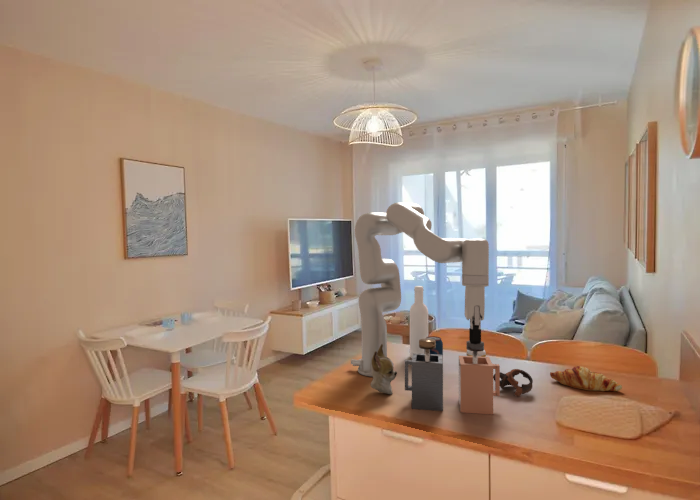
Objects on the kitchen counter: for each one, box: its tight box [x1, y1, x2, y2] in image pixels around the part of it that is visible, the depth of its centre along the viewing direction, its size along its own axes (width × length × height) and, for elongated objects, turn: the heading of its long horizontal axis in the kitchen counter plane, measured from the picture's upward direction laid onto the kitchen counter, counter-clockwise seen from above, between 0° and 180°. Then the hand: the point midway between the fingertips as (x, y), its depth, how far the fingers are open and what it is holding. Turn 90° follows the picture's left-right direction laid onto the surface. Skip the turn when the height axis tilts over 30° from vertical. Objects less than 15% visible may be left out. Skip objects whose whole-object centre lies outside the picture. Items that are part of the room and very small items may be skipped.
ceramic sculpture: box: [370, 344, 398, 395], centre depth 134 cm, size 11×9×15 cm
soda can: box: [426, 335, 444, 360], centre depth 159 cm, size 7×7×12 cm
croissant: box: [549, 365, 623, 392], centre depth 139 cm, size 21×10×8 cm, turn 59°
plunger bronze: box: [419, 339, 436, 362], centre depth 126 cm, size 6×6×18 cm
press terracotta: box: [458, 355, 501, 415], centre depth 123 cm, size 11×9×14 cm
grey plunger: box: [465, 340, 485, 364], centre depth 123 cm, size 6×6×18 cm
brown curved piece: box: [493, 368, 534, 398], centre depth 135 cm, size 12×10×8 cm
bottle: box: [409, 285, 429, 359], centre depth 174 cm, size 8×8×30 cm
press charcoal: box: [404, 354, 444, 412], centre depth 126 cm, size 11×9×14 cm
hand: (475, 342), depth 123 cm, fingers closed
